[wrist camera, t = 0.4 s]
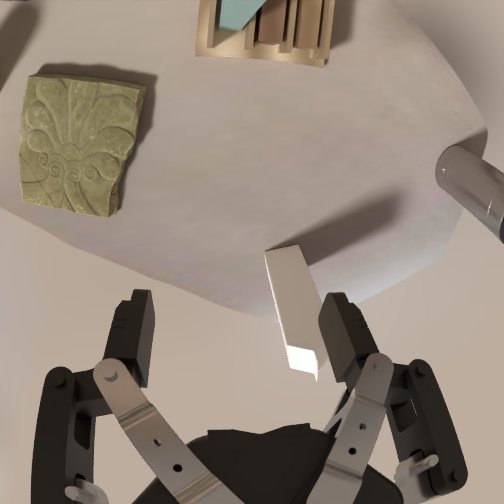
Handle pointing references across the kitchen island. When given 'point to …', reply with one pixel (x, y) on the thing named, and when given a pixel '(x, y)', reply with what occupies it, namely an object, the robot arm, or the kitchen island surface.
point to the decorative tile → (77, 141)
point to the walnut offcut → (270, 22)
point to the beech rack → (243, 46)
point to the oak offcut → (307, 24)
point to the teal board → (237, 13)
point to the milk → (297, 308)
